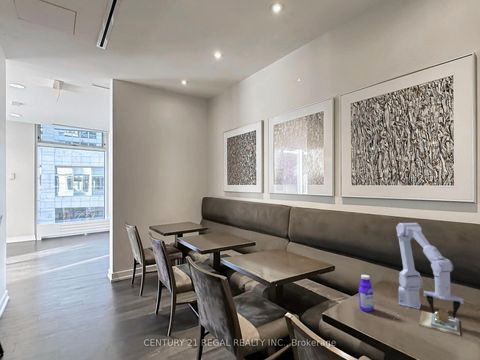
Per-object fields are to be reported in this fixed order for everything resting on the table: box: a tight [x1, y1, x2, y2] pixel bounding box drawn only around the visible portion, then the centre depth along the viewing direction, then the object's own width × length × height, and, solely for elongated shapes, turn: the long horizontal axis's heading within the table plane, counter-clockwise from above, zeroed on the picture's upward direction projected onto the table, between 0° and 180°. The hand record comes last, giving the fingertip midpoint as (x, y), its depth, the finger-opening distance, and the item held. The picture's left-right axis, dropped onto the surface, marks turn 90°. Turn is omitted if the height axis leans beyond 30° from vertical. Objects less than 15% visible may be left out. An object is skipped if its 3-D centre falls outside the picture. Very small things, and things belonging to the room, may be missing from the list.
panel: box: [431, 308, 457, 332], centre depth 122 cm, size 9×13×5 cm
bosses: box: [434, 310, 442, 324], centre depth 124 cm, size 3×11×3 cm, turn 142°
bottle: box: [358, 274, 375, 312], centre depth 138 cm, size 7×6×17 cm
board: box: [418, 310, 461, 336], centre depth 123 cm, size 14×16×1 cm
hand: (443, 315), depth 122 cm, fingers open, 7 cm apart
